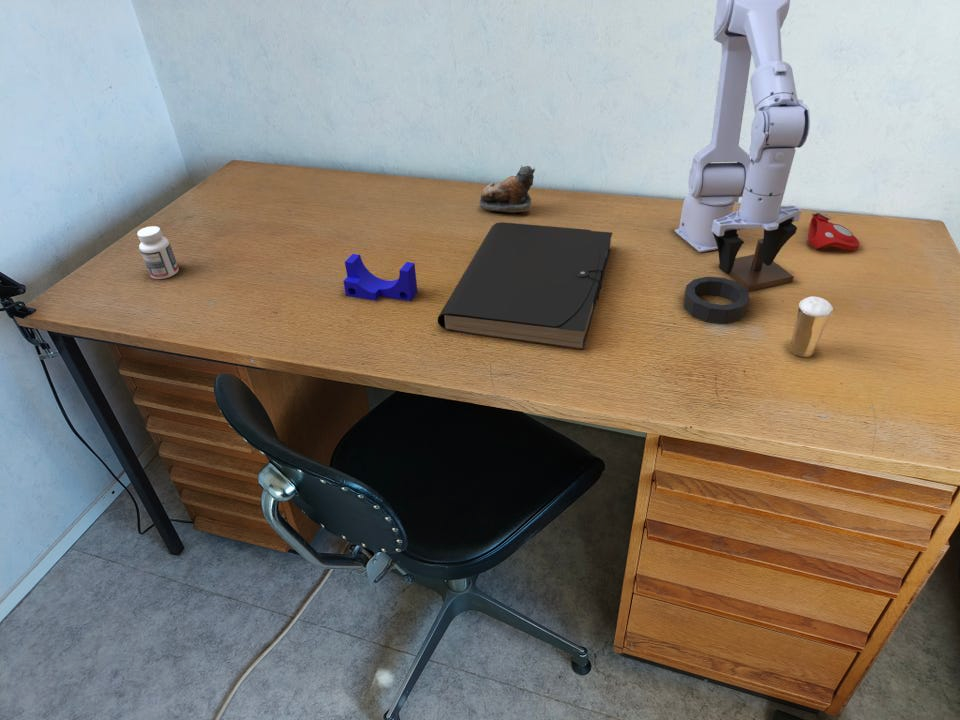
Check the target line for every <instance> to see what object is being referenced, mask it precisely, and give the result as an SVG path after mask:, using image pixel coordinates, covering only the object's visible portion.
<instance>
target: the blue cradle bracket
mask: <svg viewBox="0 0 960 720" xmlns="http://www.w3.org/2000/svg"><path fill="white" fill-rule="evenodd" d="M415 264H416V263H415V262H411V261H406V262H405V263H404V264H403V266H402V267H401V268H400V269H399V270H398V271H399V275H398V278H397V279H394V280H387V279H383V278H380V277H377V276H376V275H374V274H373V273H371V271H370V270H369V269H368V268H367V267H366V266H365V264H364V262H363V260H362V257H361V254H356V253H352V254H351V255H350V256H349V257H348V258H347V259H346V260H345V261H344V266H345V267H344V268H345V272H346V277H345V278H344V279H343V280H342V281H343V287H344V292H345V296H346V297H352V298H359V299H365V300H371V301H378V300H379V298H381V297H383V298H389V299H394V300H401V301H407V302H412V301H413V300H414V298H415V297H416V295H417V294H418V293H419V291H418V284H417V283H418V282H417V274H416V265H415Z"/></svg>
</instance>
